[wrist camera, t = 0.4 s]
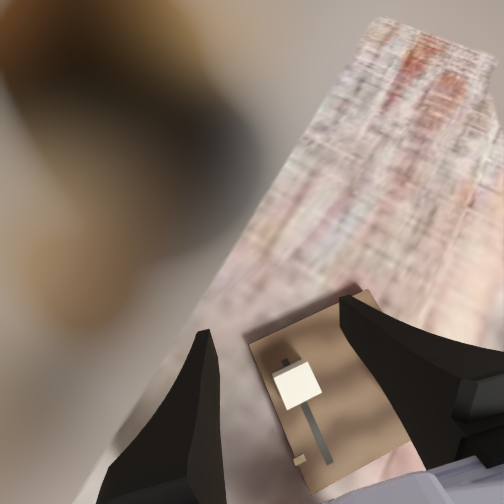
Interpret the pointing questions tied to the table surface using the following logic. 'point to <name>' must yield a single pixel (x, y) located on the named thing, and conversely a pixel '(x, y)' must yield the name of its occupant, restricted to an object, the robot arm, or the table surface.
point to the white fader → (296, 383)
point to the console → (330, 399)
